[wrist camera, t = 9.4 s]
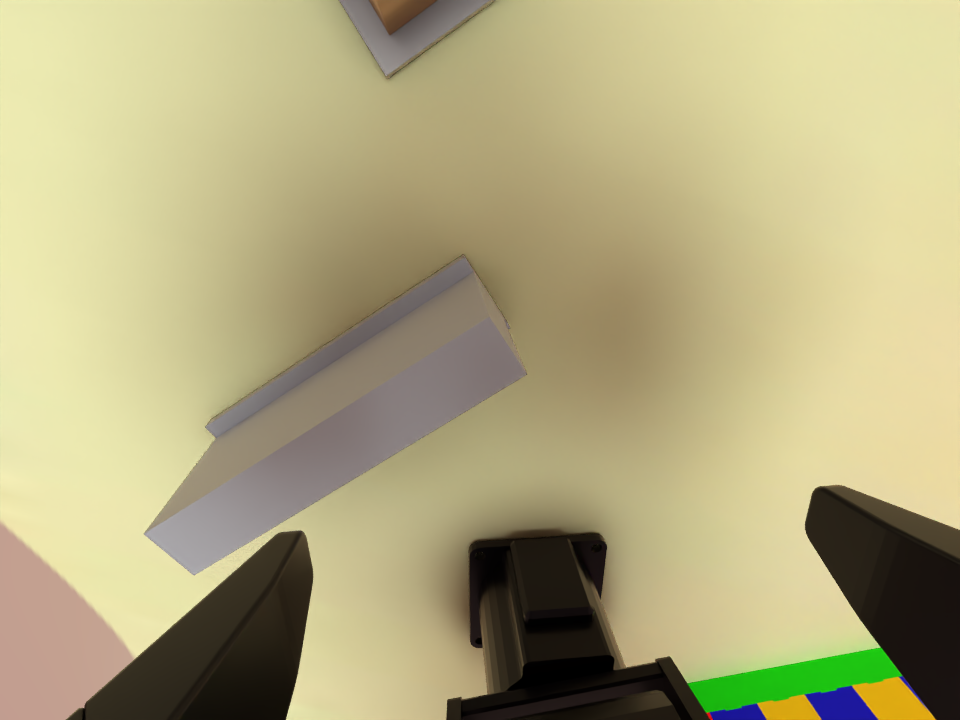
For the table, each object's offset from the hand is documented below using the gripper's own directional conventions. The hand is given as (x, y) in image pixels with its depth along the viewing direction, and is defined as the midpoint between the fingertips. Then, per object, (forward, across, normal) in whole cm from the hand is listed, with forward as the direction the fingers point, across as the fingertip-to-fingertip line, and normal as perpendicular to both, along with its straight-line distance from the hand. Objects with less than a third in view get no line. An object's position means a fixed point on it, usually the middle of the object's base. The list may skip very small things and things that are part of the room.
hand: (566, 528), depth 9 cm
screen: (+12, +5, +2) cm, 13 cm away
